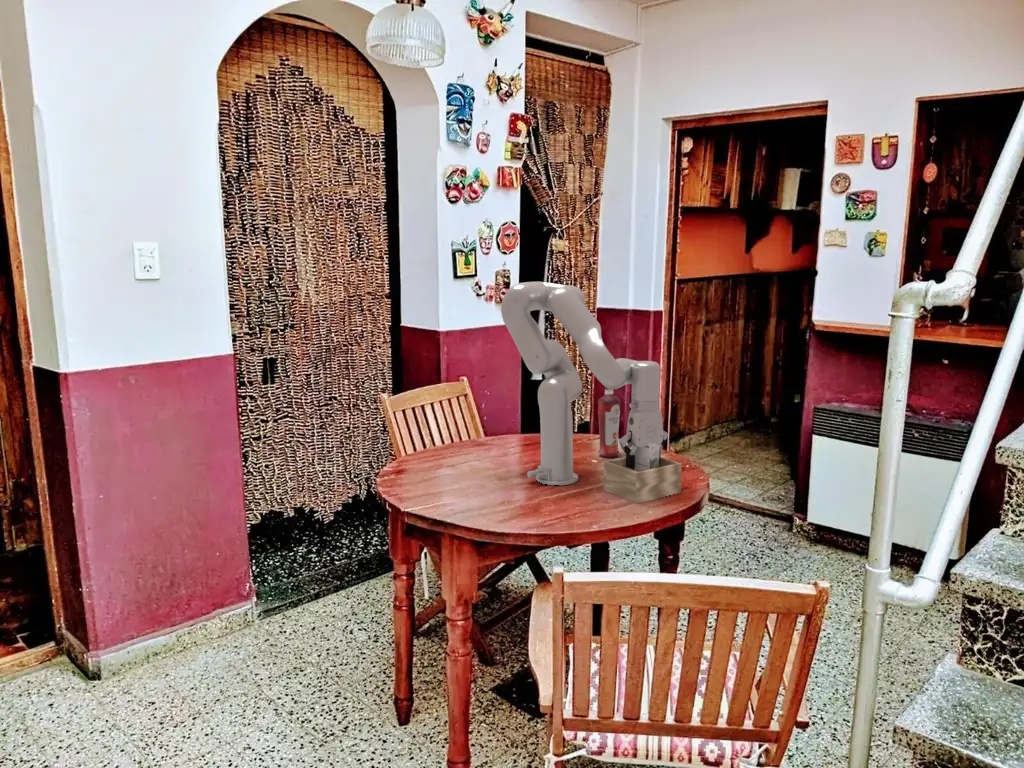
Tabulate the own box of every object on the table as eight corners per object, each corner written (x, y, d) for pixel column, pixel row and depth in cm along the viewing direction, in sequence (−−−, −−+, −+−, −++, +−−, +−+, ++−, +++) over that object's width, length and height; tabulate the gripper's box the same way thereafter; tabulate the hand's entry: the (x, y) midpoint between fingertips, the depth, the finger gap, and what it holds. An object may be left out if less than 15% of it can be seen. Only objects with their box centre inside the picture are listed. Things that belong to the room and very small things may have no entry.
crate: (637, 503, 200) (638, 473, 199) (604, 490, 212) (604, 461, 210) (680, 492, 209) (681, 463, 207) (646, 480, 220) (646, 452, 219)
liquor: (610, 451, 253) (610, 370, 248) (624, 456, 247) (625, 373, 242) (593, 455, 249) (593, 372, 245) (607, 459, 243) (607, 375, 239)
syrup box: (640, 485, 216) (641, 436, 214) (659, 488, 212) (660, 439, 210) (630, 490, 212) (631, 440, 209) (649, 494, 208) (650, 443, 206)
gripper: (629, 411, 200) (628, 473, 203) (677, 404, 209) (675, 463, 212) (612, 406, 206) (610, 466, 209) (659, 400, 215) (657, 457, 218)
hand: (643, 465), depth 211 cm, fingers open, 8 cm apart
